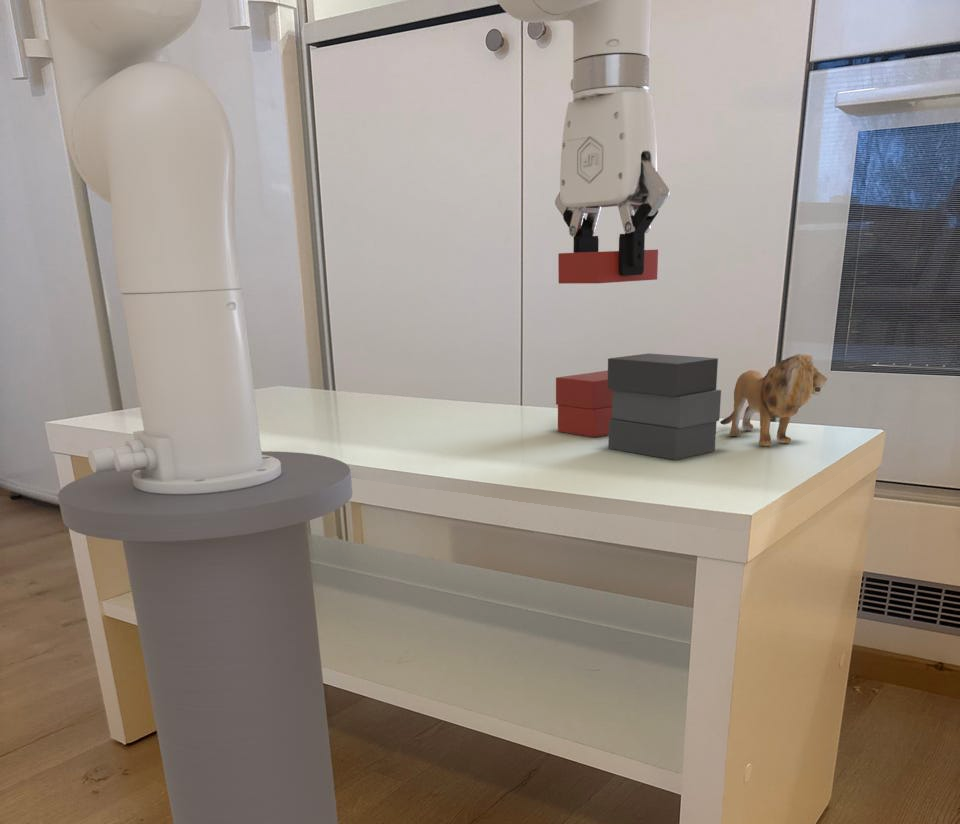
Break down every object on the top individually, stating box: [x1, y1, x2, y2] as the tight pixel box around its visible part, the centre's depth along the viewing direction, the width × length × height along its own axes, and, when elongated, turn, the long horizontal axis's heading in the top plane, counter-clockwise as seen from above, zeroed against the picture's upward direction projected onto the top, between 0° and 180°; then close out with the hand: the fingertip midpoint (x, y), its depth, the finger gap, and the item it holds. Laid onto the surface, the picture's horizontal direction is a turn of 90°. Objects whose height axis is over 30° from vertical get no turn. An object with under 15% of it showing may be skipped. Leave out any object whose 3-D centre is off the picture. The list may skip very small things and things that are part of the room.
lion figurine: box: [719, 353, 828, 447], centre depth 98 cm, size 15×5×9 cm, turn 21°
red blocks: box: [555, 370, 612, 438], centre depth 108 cm, size 6×9×6 cm
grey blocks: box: [607, 353, 722, 461], centre depth 95 cm, size 6×9×9 cm
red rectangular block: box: [557, 249, 659, 285], centre depth 101 cm, size 6×9×3 cm, turn 128°
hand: (608, 273), depth 101 cm, fingers closed on red rectangular block, 6 cm apart
